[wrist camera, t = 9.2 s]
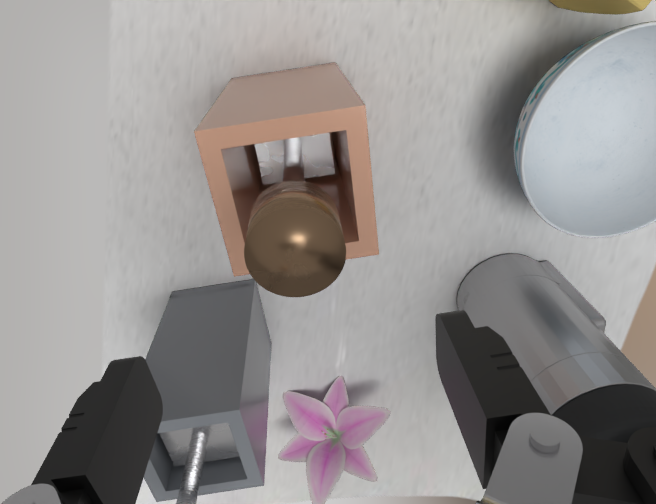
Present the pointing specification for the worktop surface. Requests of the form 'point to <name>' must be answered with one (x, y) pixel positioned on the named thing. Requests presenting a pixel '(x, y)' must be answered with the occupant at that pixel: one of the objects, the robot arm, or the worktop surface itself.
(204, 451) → the tall bronze-capped rod
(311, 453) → the lily
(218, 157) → the press terracotta
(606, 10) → the cheese
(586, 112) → the chinaware
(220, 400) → the grey square holder
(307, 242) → the bronze knob plunger
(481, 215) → the worktop surface
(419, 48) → the worktop surface
